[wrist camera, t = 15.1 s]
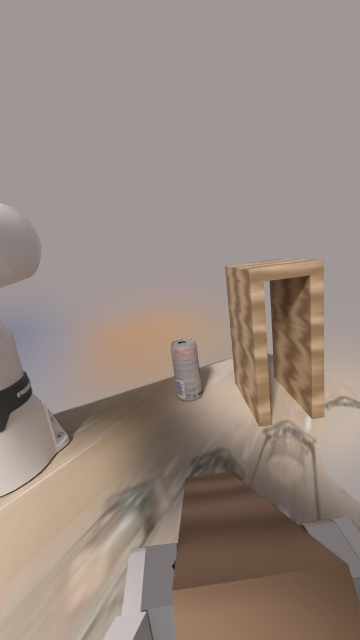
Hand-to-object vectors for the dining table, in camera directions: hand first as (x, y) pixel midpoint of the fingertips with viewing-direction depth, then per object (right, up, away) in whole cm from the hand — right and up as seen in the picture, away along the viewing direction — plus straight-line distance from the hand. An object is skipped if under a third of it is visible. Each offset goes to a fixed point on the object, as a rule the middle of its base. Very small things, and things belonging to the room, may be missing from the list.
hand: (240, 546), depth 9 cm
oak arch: (+16, -8, +44) cm, 47 cm away
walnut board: (0, -4, +6) cm, 7 cm away
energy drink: (0, -9, +49) cm, 50 cm away
